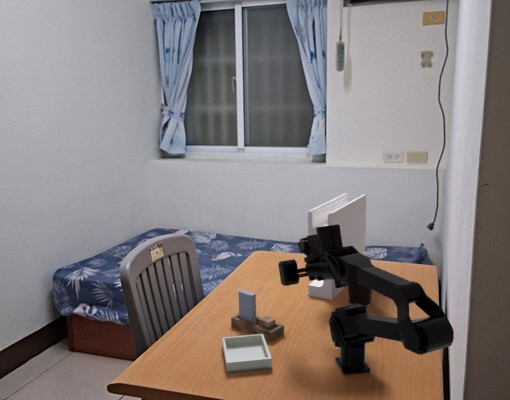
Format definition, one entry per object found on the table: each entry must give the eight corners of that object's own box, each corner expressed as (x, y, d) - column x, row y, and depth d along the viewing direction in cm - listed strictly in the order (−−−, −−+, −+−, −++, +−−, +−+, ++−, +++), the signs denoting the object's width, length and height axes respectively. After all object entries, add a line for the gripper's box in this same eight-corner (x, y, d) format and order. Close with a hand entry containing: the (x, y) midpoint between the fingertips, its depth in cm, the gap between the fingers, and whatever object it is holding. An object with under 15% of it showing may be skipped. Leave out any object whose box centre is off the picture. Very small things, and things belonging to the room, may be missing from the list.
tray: (272, 368, 111) (271, 358, 110) (226, 372, 109) (226, 363, 109) (263, 342, 123) (262, 333, 123) (222, 346, 122) (222, 337, 121)
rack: (284, 333, 127) (284, 325, 127) (271, 341, 124) (271, 332, 123) (244, 319, 137) (244, 311, 137) (231, 325, 133) (231, 317, 133)
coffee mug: (353, 294, 153) (354, 265, 151) (378, 301, 148) (379, 270, 146) (335, 306, 144) (335, 275, 142) (361, 313, 139) (362, 281, 137)
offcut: (275, 326, 127) (275, 319, 127) (268, 330, 125) (268, 322, 125) (265, 322, 130) (265, 315, 129) (258, 326, 128) (258, 318, 127)
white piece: (331, 299, 150) (332, 213, 144) (308, 295, 154) (307, 211, 148) (364, 267, 179) (366, 194, 174) (344, 264, 183) (345, 193, 178)
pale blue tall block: (256, 327, 132) (255, 293, 130) (252, 329, 130) (251, 295, 128) (243, 322, 135) (242, 289, 133) (239, 324, 134) (238, 291, 132)
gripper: (353, 230, 121) (322, 235, 135) (289, 240, 113) (263, 244, 128) (361, 274, 120) (328, 273, 134) (296, 286, 112) (269, 285, 127)
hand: (298, 268), depth 131 cm, fingers open, 9 cm apart
